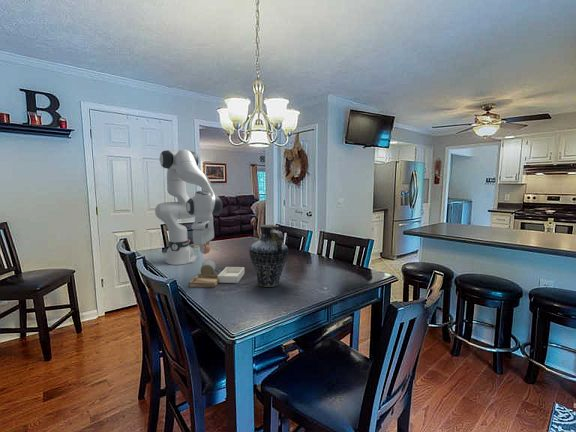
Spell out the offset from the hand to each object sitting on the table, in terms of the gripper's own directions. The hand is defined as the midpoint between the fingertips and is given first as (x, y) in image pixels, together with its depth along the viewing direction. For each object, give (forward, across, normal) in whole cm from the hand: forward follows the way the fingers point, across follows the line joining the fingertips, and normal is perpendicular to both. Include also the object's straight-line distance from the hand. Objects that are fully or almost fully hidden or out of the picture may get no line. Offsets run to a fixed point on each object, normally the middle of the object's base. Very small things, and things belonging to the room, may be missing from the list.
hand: (205, 250), depth 151 cm
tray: (+17, 0, 0) cm, 17 cm away
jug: (+17, 0, +33) cm, 37 cm away
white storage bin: (+17, -9, +11) cm, 22 cm away
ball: (-1, 0, 0) cm, 1 cm away
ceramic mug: (+17, -13, -2) cm, 22 cm away
